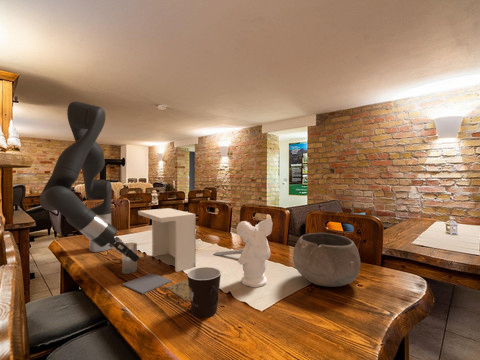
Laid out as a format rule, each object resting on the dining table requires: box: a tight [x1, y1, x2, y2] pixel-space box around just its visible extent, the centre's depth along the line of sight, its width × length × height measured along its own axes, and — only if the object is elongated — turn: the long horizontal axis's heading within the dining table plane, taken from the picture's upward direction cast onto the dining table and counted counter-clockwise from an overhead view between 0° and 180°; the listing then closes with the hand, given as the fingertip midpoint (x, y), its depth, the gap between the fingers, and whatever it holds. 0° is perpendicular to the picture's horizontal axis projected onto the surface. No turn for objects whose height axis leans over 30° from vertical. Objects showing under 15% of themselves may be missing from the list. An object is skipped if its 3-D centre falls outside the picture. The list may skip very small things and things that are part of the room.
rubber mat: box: [121, 272, 173, 295], centre depth 81 cm, size 11×11×1 cm
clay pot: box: [292, 232, 361, 288], centre depth 81 cm, size 21×21×15 cm
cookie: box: [164, 278, 190, 301], centre depth 78 cm, size 12×12×1 cm
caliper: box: [212, 248, 244, 256], centre depth 107 cm, size 20×1×6 cm, turn 68°
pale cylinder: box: [121, 242, 138, 275], centre depth 91 cm, size 5×5×10 cm
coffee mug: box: [186, 266, 222, 319], centre depth 62 cm, size 12×9×10 cm
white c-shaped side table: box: [137, 207, 197, 273], centre depth 100 cm, size 24×14×21 cm, turn 40°
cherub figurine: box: [236, 216, 274, 288], centre depth 84 cm, size 12×12×22 cm
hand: (134, 257), depth 92 cm, fingers closed on pale cylinder, 5 cm apart
